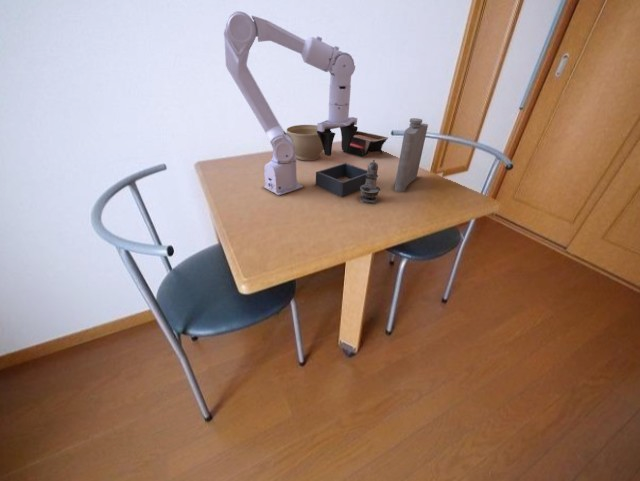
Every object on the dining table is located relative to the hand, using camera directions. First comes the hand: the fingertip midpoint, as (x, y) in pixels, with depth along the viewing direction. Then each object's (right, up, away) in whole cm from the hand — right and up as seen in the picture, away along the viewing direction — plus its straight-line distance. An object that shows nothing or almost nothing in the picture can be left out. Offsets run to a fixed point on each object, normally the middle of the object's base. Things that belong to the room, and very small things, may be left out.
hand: (336, 152), depth 87 cm
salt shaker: (+9, -15, -3) cm, 18 cm away
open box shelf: (+3, -9, +6) cm, 11 cm away
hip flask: (+23, -8, +8) cm, 26 cm away
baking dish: (+13, +11, +36) cm, 39 cm away
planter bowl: (-10, +7, +29) cm, 31 cm away
